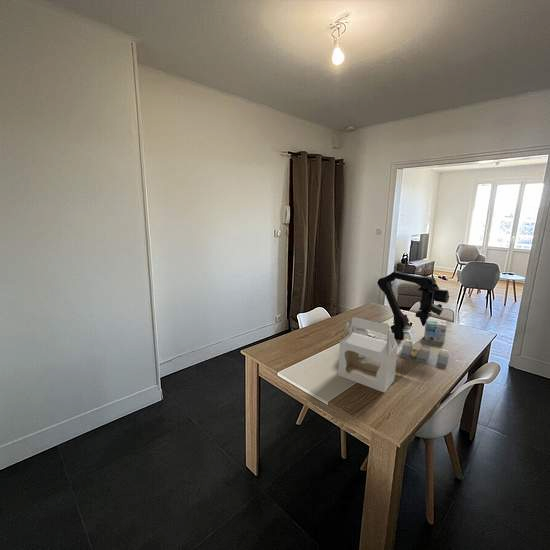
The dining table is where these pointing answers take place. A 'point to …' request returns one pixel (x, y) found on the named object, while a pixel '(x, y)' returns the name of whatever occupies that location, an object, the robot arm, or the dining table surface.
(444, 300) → the robot arm
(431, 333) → the light bulb box
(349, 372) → the gable box
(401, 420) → the dining table surface
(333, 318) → the dining table surface
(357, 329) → the milk carton
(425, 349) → the knob mid
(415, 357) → the knob
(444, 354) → the knob
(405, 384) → the dining table surface
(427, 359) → the panel
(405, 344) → the knob
